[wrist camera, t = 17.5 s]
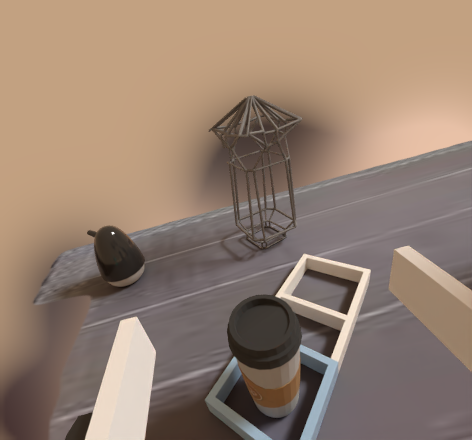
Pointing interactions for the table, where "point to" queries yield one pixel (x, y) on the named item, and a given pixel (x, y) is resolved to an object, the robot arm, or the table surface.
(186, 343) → the table surface
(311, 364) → the gap frame
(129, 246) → the pump dispenser
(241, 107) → the geometric lantern
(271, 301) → the coffee cup
